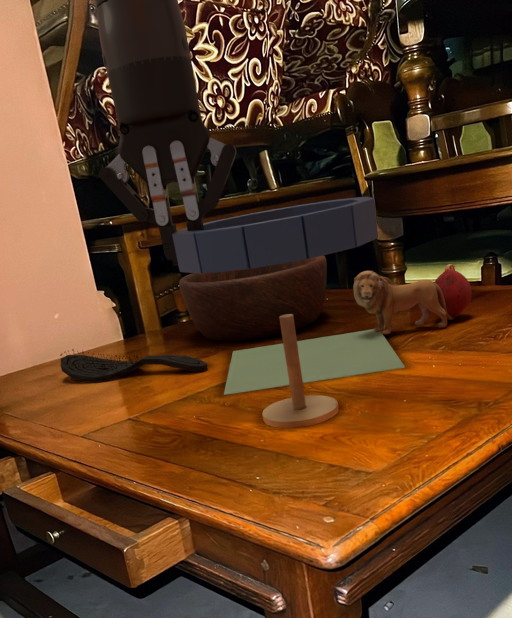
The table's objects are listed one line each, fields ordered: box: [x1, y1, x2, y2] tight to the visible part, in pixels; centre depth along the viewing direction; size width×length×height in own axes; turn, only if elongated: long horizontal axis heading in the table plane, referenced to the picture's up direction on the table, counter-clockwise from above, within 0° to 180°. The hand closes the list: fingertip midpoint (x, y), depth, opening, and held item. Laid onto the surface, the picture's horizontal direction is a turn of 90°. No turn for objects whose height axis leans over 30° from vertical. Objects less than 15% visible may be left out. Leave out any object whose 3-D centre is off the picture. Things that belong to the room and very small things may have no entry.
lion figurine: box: [352, 270, 454, 335], centre depth 98 cm, size 15×5×9 cm, turn 101°
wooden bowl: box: [178, 255, 328, 342], centre depth 118 cm, size 25×25×10 cm
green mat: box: [223, 328, 406, 396], centre depth 93 cm, size 22×22×1 cm
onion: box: [433, 263, 473, 320], centre depth 101 cm, size 6×6×8 cm
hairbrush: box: [59, 348, 208, 383], centre depth 103 cm, size 8×4×25 cm
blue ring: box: [172, 196, 379, 274], centre depth 66 cm, size 19×19×4 cm
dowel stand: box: [261, 314, 339, 429], centre depth 71 cm, size 8×8×11 cm
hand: (188, 261), depth 67 cm, fingers closed on blue ring, 1 cm apart
